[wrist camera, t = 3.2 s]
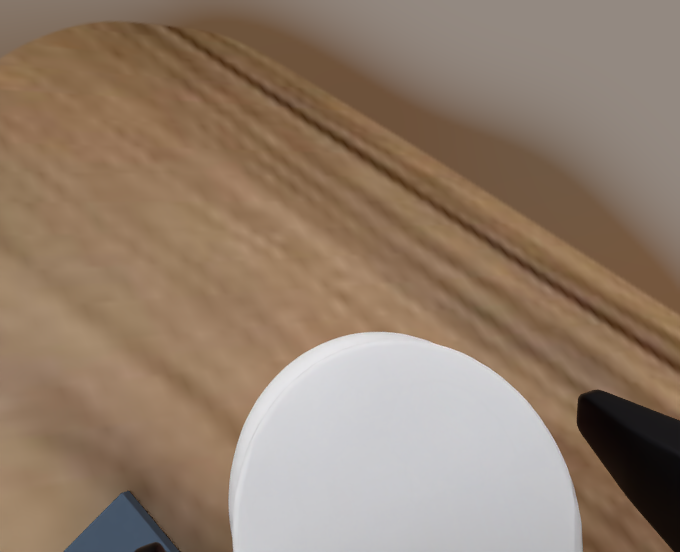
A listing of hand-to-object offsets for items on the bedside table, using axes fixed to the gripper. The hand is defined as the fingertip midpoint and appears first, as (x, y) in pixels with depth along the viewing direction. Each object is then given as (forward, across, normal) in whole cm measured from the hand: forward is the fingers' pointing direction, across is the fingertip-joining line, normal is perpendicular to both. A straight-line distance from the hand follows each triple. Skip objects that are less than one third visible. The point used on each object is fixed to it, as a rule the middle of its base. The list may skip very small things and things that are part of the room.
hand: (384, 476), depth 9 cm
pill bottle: (+6, 0, +6) cm, 8 cm away
